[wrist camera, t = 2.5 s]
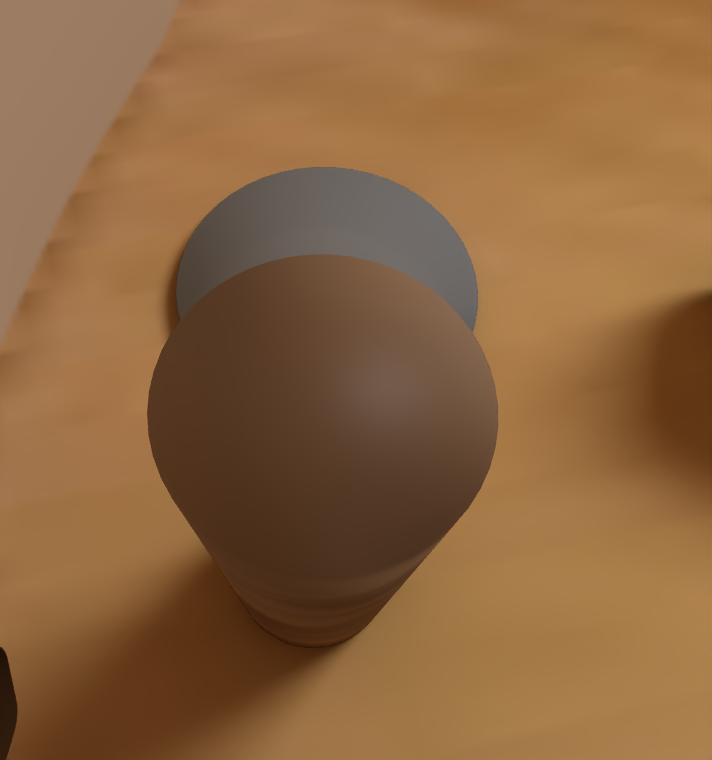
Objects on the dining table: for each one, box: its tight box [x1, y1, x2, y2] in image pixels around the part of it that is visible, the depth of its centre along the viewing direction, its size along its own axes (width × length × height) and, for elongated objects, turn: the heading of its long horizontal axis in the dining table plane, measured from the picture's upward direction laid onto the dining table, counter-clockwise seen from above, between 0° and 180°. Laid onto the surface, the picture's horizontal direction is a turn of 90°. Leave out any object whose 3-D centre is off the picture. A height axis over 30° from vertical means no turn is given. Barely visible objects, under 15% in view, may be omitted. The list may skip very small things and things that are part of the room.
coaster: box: [176, 167, 478, 332], centre depth 25 cm, size 11×11×1 cm
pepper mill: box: [147, 254, 498, 648], centre depth 15 cm, size 5×5×13 cm
